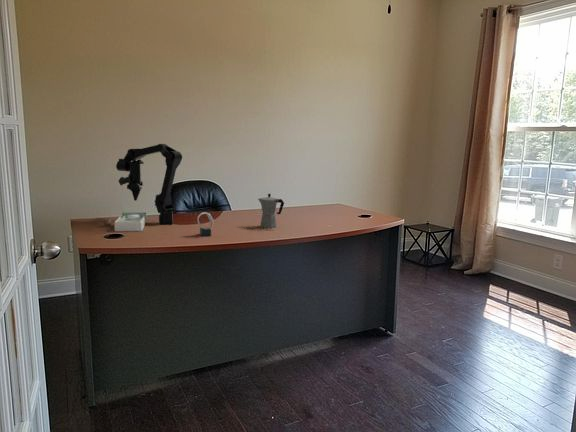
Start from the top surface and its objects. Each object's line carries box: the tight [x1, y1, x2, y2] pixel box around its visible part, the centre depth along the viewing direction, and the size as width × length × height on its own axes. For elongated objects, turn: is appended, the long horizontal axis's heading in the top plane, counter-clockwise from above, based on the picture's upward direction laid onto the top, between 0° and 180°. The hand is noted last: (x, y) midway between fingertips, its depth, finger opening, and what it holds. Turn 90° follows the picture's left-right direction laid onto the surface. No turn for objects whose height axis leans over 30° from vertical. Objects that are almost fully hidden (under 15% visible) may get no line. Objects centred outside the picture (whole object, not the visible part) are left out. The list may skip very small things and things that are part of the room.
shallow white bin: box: [114, 216, 146, 232], centre depth 228 cm, size 12×16×4 cm
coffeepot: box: [257, 193, 285, 229], centre depth 244 cm, size 15×9×18 cm, turn 66°
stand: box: [102, 218, 112, 228], centre depth 230 cm, size 4×4×4 cm
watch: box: [196, 212, 215, 237], centre depth 218 cm, size 6×8×11 cm
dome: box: [127, 215, 139, 220], centre depth 239 cm, size 6×6×2 cm
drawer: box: [120, 211, 148, 222], centre depth 237 cm, size 12×16×4 cm
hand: (135, 200), depth 248 cm, fingers closed
